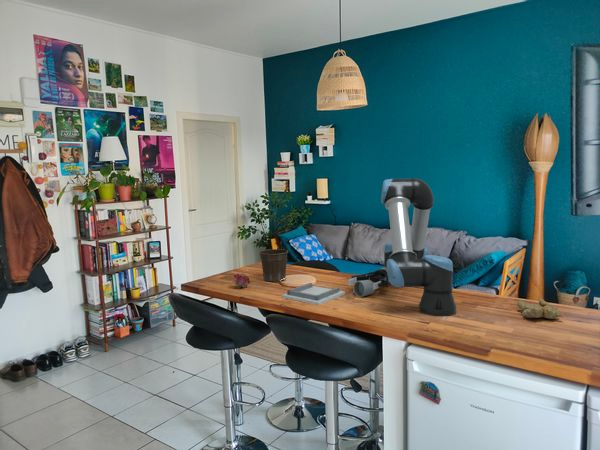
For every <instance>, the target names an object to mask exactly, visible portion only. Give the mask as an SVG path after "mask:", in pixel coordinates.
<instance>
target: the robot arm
mask: <svg viewBox="0 0 600 450" xmlns="http://www.w3.org/2000/svg"><path fill="white" fill-rule="evenodd" d="M380 201H381V202H380V203H381V204H382V205H384V207H385V209H386V210H388V216H389V217H388V219H389V227H390V237H391V238H390V239H391V242H386V243H385V244H384V249H383V259H384V262H383V263H384V264H383V267H382V268H379V269H377V270H375V271H373V273H372V274H368V273H365V274H357V275H351V278H350V279H348V280H347V283H348V284H347V285H348V286H349V287H350V286H352V285H354V284H355V282H357V281H362V280H371V281H372V282H373V283H374V284H373V290H375V291H376V290H377V289H379V288H382V287H383V288H385V287H386V288H387V287H389V284H390V285H391V286H392V287H394V288H395V287H396V288H399V287H400V288H413V287H414V288H418V287H419V288H421V287H422V288H423V293H422V296H421V299H420V302H419V305H418V310H419V312H421V313H422V314H425V315H429V316H436V317H438V316H439V317H447V316H452V315H455V314H456V313H457V305H456V302H455V298H454V295H453V281H454V279H453V276H454V275H453V274H454V267H453V266H454V264H453V261H452V259H450V258H448V257H445V256H441V255H434V254H429V251H428V247H427V246H425V245H426V239H427V238H426V237H427V232H428V226H429V218H430V212H431V209H432V208H433V207H434V206H433V205H434V201H435V200H434V194H433V191H432V189H431V188H430V186H429V184H427V183H426V182H425V181H424V180H422V179H420V178H390V179H389V178H388V179H384V181H383V183H382V190H381V198H380ZM411 204H412V207H413V212H412V213H413V215H412V222H411V226H410V217H409V209H408V208H409V207H411Z"/></svg>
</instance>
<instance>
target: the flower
mask: <svg viewBox="0 0 600 450" xmlns="http://www.w3.org/2000/svg"><path fill="white" fill-rule="evenodd" d="M233 276H234V281H232V282H233V283H234V284H235V286H238V290H240V289H241V288H248V287H247V286H248V285H250V282H251V281H250V277H249V276H248V275H246V274H245V273H236V274H233Z"/></svg>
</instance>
